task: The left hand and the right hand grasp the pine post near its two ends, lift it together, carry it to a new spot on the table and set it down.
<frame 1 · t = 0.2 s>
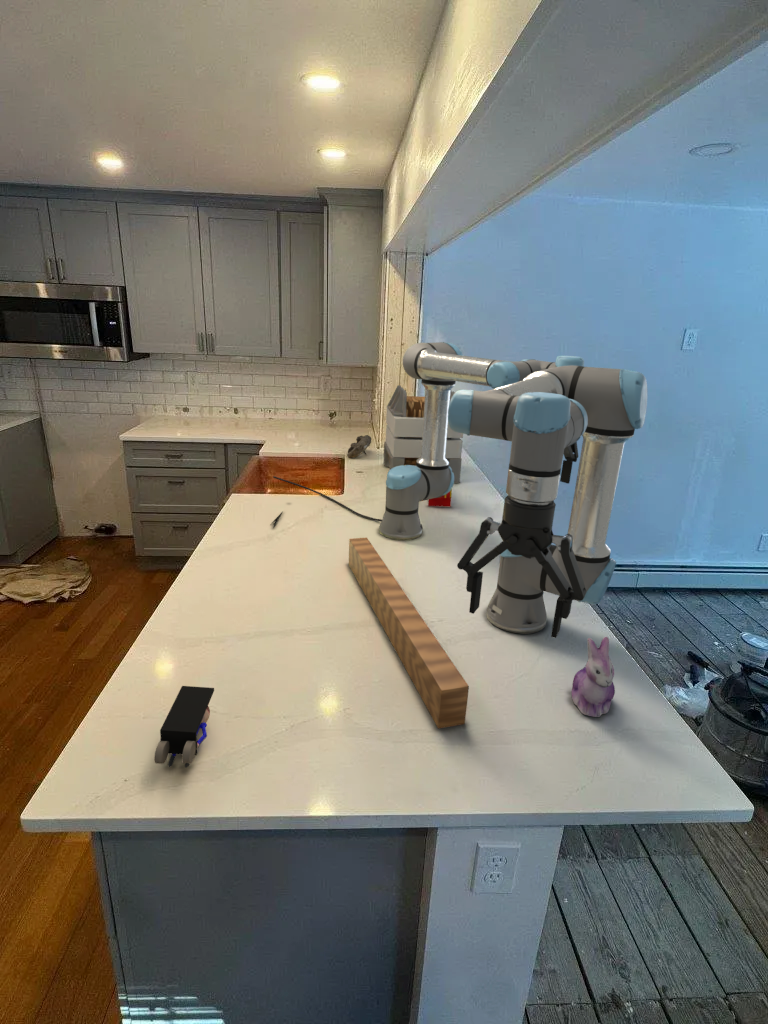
left hand: (551, 486, 166), 28 cm above the counter, tool pointing down, fingers open, 13 cm apart
right hand: (513, 621, 93), 28 cm above the counter, tool pointing down, fingers open, 13 cm apart
post: (393, 626, 142), on the counter
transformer: (419, 473, 275), on the counter
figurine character: (188, 745, 101), on the counter
fossil: (359, 454, 305), on the counter
figurine: (592, 704, 117), on the counter
feather: (280, 515, 212), on the counter
red striped box: (435, 496, 242), on the counter
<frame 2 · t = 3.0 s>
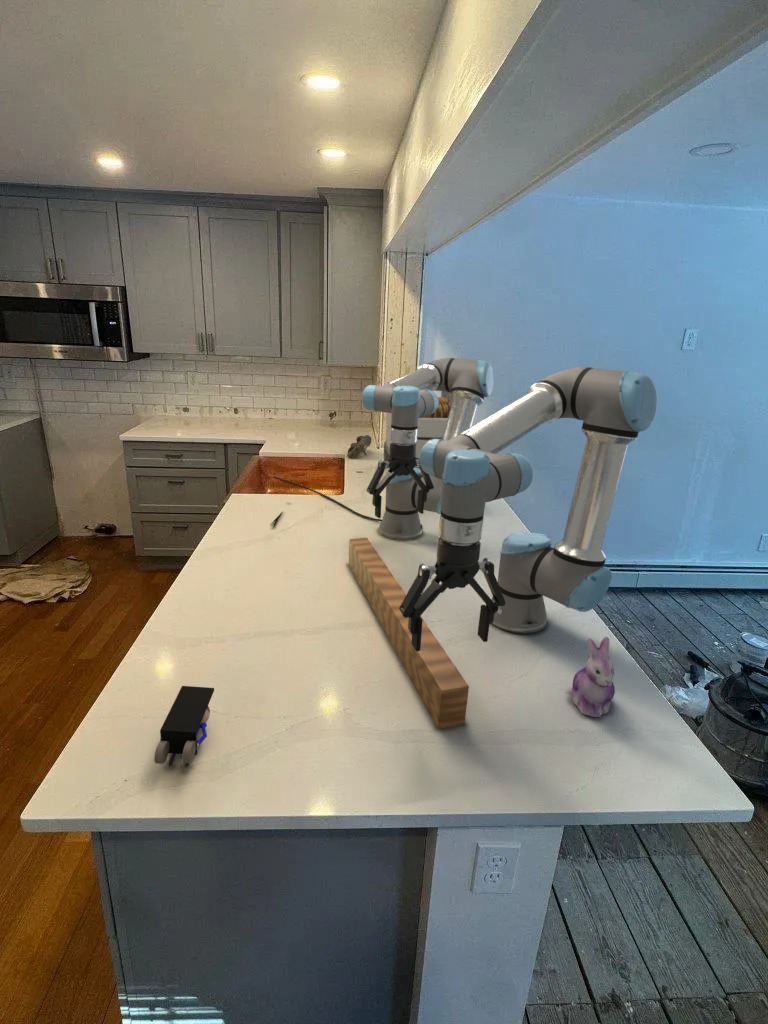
left hand: (399, 514, 166), 18 cm above the counter, tool pointing down, fingers open, 13 cm apart
right hand: (449, 642, 107), 16 cm above the counter, tool pointing down, fingers open, 13 cm apart
nothing on the counter moved.
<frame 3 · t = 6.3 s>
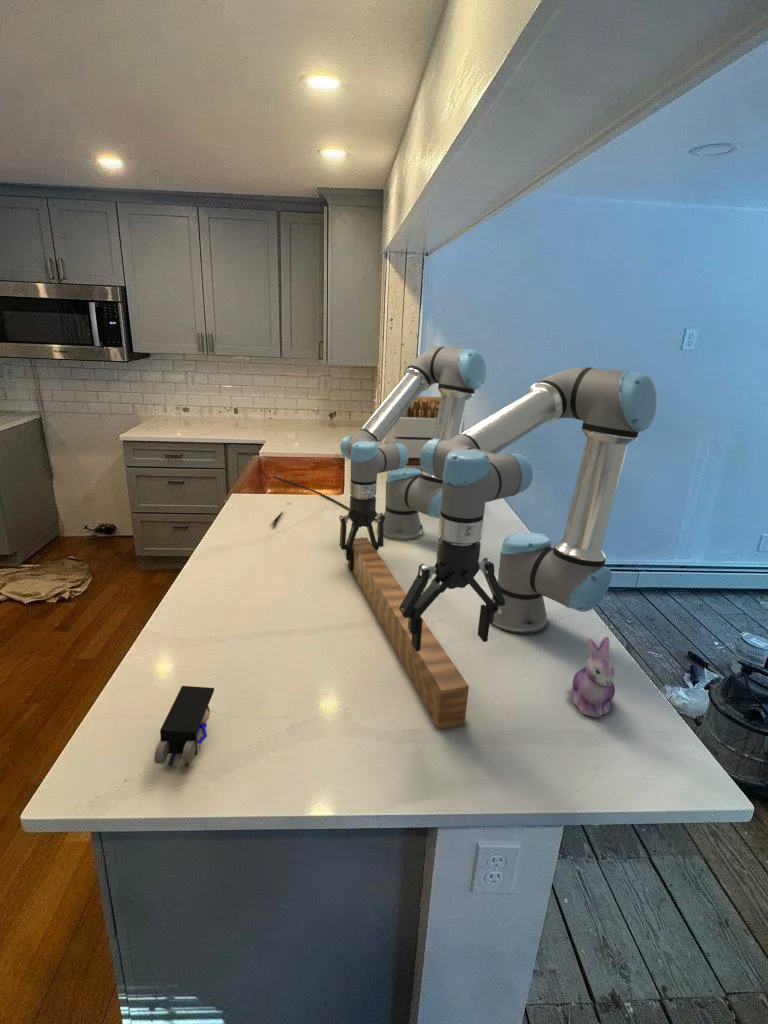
left hand: (360, 568, 171), 1 cm above the counter, tool pointing down, fingers closed on post, 6 cm apart
right hand: (449, 642, 107), 16 cm above the counter, tool pointing down, fingers open, 13 cm apart
post: (393, 626, 142), on the counter, touching left hand
everything else where it was.
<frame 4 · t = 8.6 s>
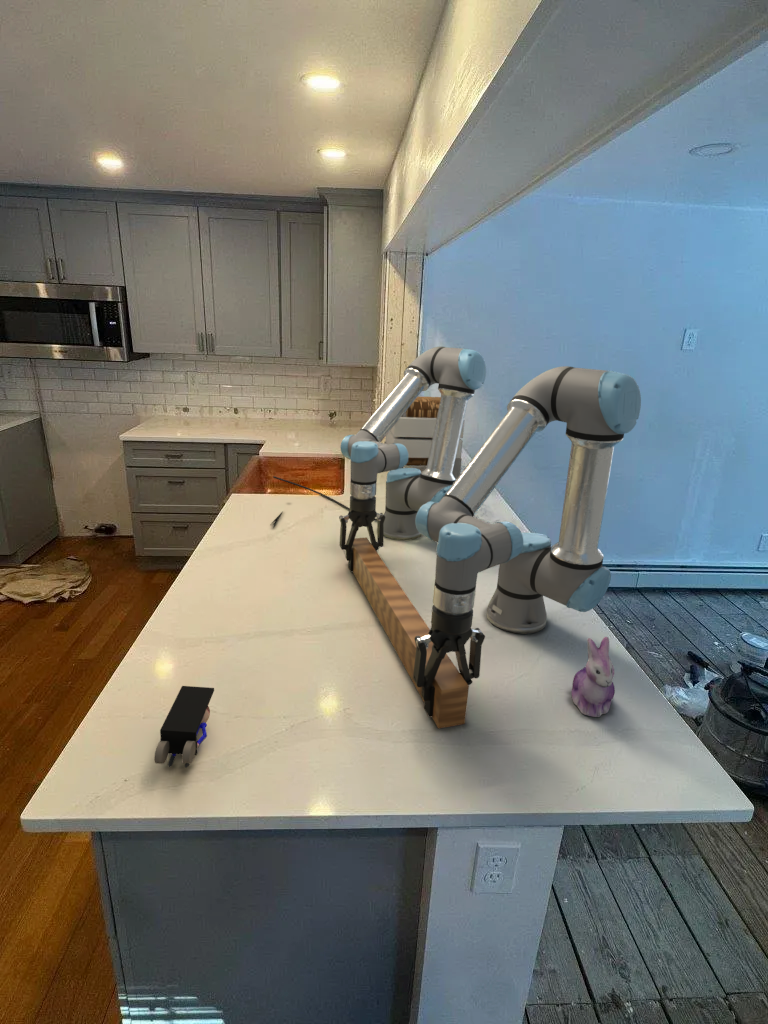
left hand: (360, 568, 171), 1 cm above the counter, tool pointing down, fingers closed on post, 6 cm apart
right hand: (443, 709, 112), 1 cm above the counter, tool pointing down, fingers closed on post, 6 cm apart
post: (393, 626, 142), on the counter, touching left hand, right hand
everything else where it was.
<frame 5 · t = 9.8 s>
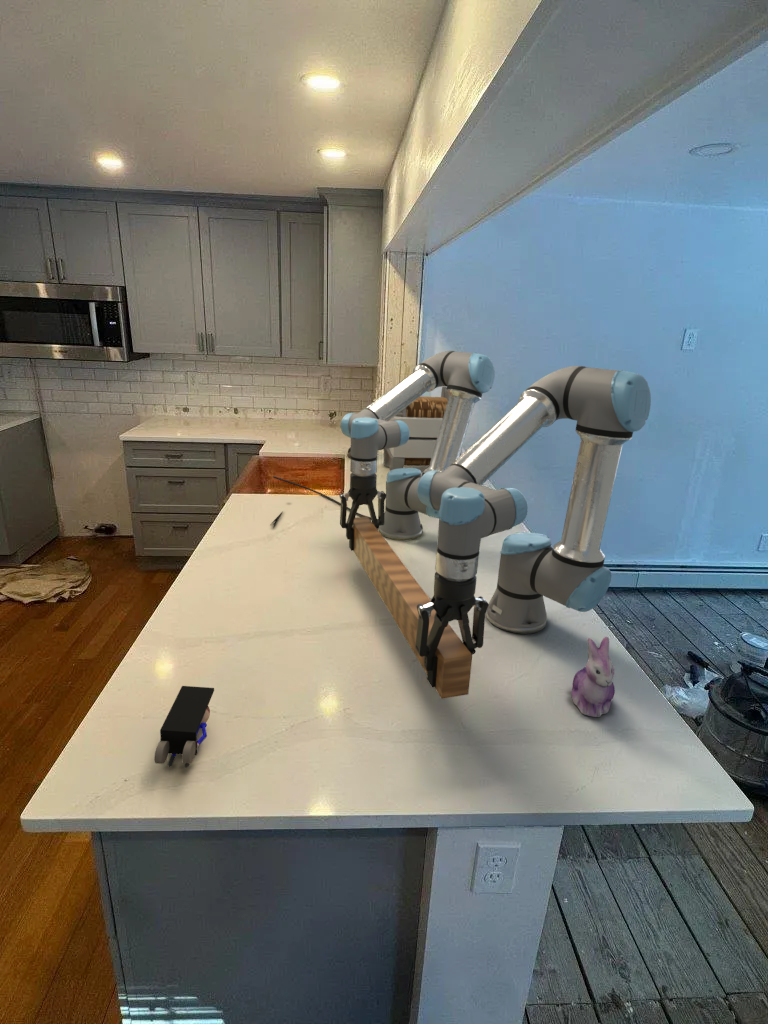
left hand: (361, 547, 169), 7 cm above the counter, tool pointing down, fingers closed on post, 6 cm apart
right hand: (446, 680, 110), 7 cm above the counter, tool pointing down, fingers closed on post, 6 cm apart
post: (395, 602, 140), point 7 cm above the counter, touching left hand, right hand
everything else where it was.
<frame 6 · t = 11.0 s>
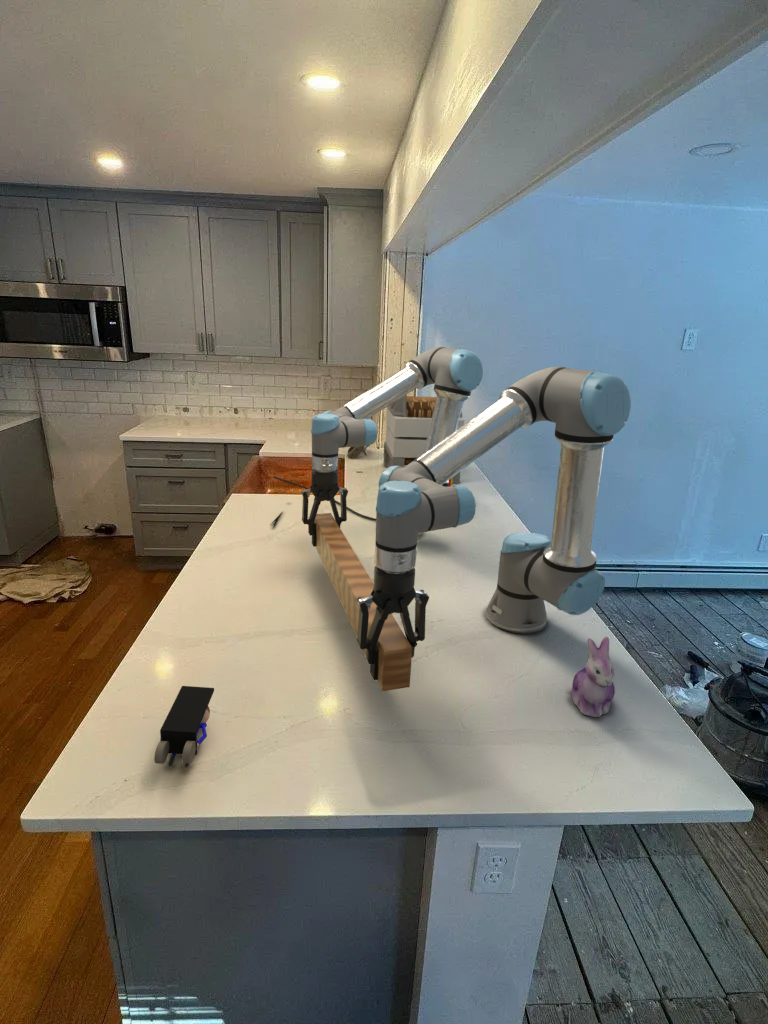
left hand: (324, 543, 170), 8 cm above the counter, tool pointing down, fingers closed on post, 6 cm apart
right hand: (389, 673, 111), 8 cm above the counter, tool pointing down, fingers closed on post, 6 cm apart
post: (350, 597, 140), point 7 cm above the counter, touching left hand, right hand
everything else where it was.
when the left hand's fingers open (2 cm above the counter, at t = 13.3 s): post drops 1 cm, on the counter.
when the right hand's fingers open (2 cm above the counter, at t = 13.3 s): post drops 1 cm, on the counter.
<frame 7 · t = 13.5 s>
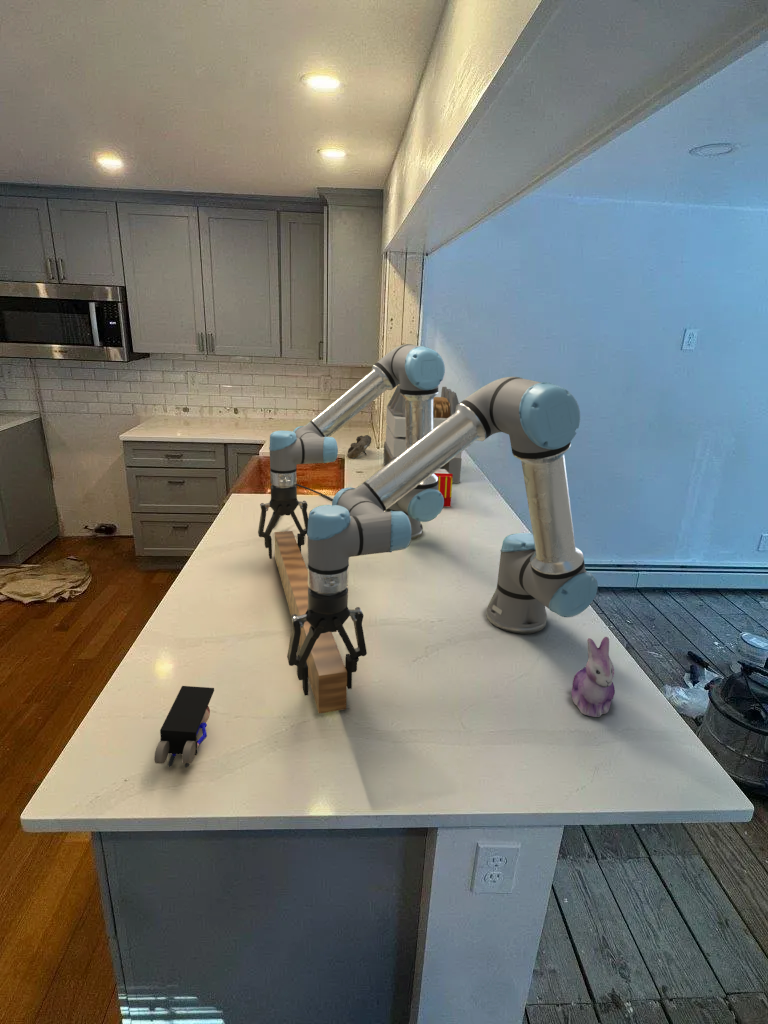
left hand: (284, 555, 173), 2 cm above the counter, tool pointing down, fingers open, 8 cm apart
right hand: (327, 687, 114), 2 cm above the counter, tool pointing down, fingers open, 8 cm apart
post: (302, 616, 144), on the counter
everything else where it was.
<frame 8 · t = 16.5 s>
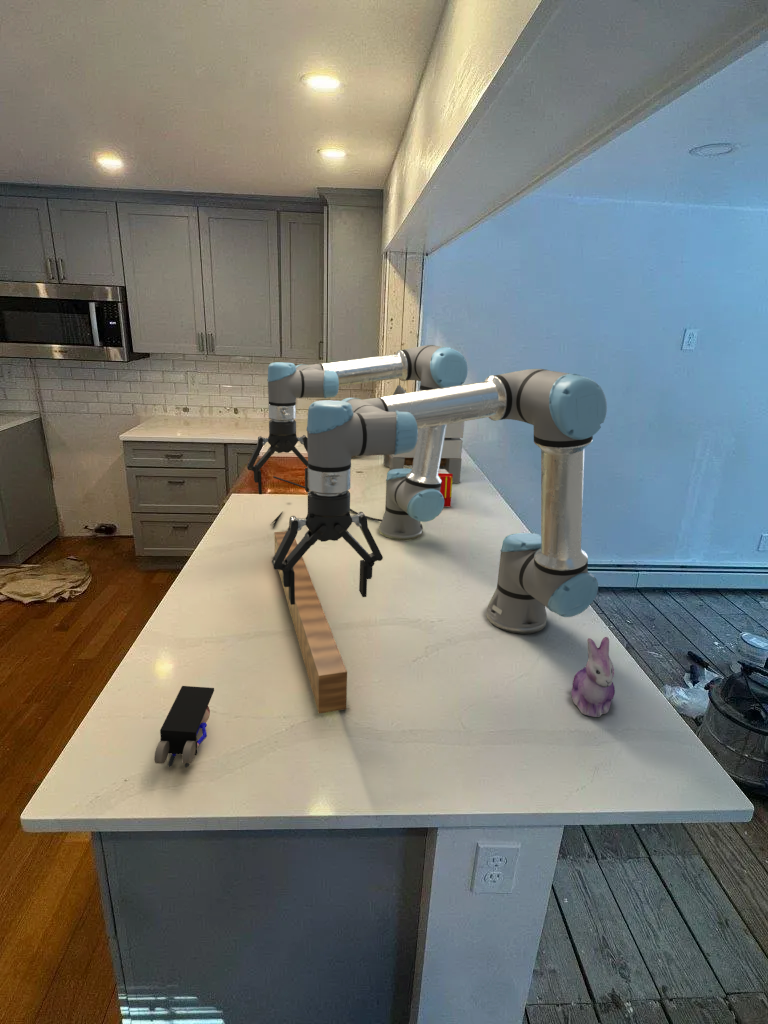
left hand: (283, 491, 166), 23 cm above the counter, tool pointing down, fingers open, 13 cm apart
right hand: (327, 597, 107), 23 cm above the counter, tool pointing down, fingers open, 13 cm apart
nothing on the counter moved.
at the end: post inside the target area (0.2 cm from its centre), on the counter; post tilted 0°; post never tilted more than 2° during the clip; both hands held the post at the same time; the left hand is holding nothing; the right hand is holding nothing; post at rest at the end (0.0 cm/s) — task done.
